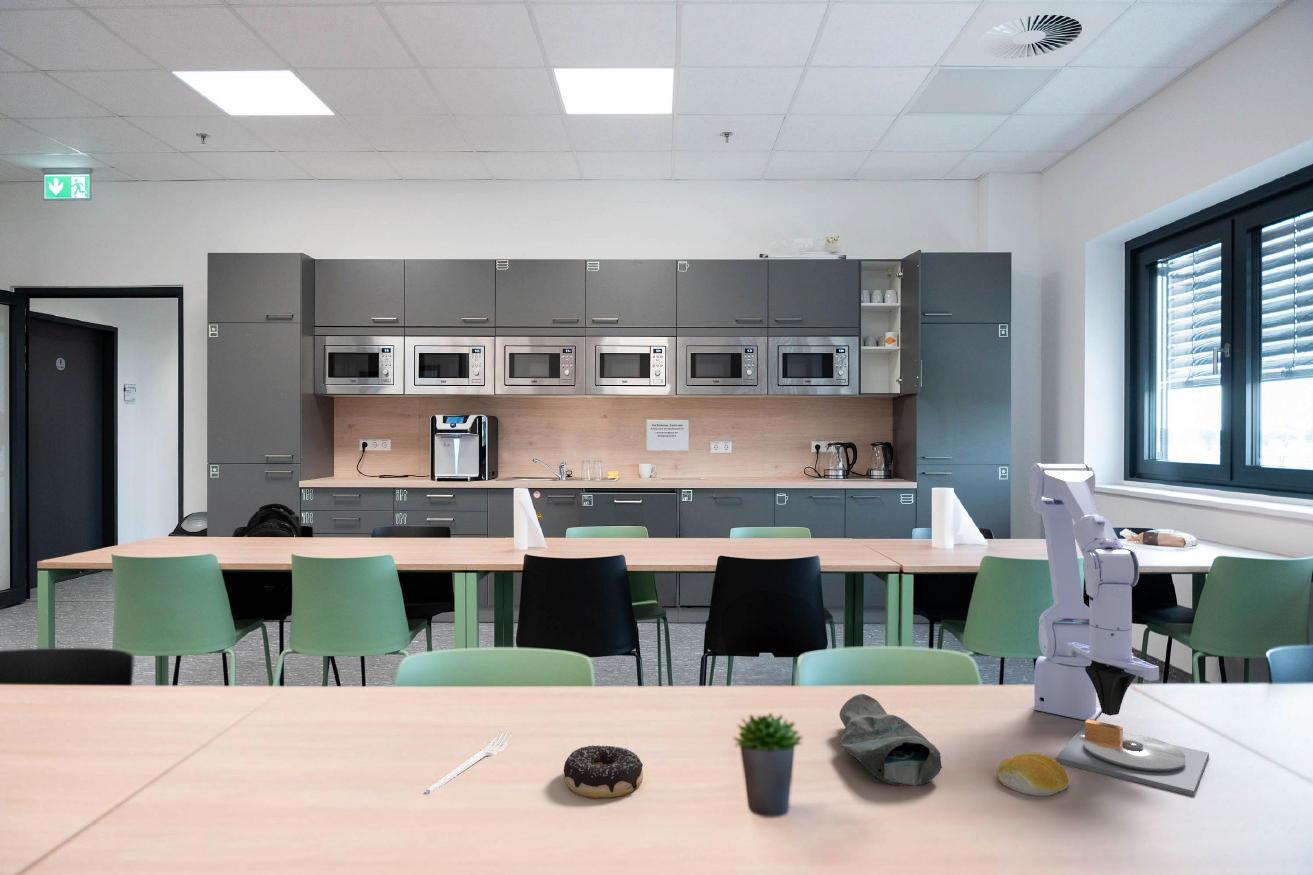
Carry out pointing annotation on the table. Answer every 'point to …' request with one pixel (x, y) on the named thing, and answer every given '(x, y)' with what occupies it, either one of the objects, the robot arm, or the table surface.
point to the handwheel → (1130, 748)
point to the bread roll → (1033, 774)
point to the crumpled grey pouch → (887, 743)
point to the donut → (603, 771)
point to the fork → (472, 760)
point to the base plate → (1173, 780)
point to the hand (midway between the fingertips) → (1110, 713)
